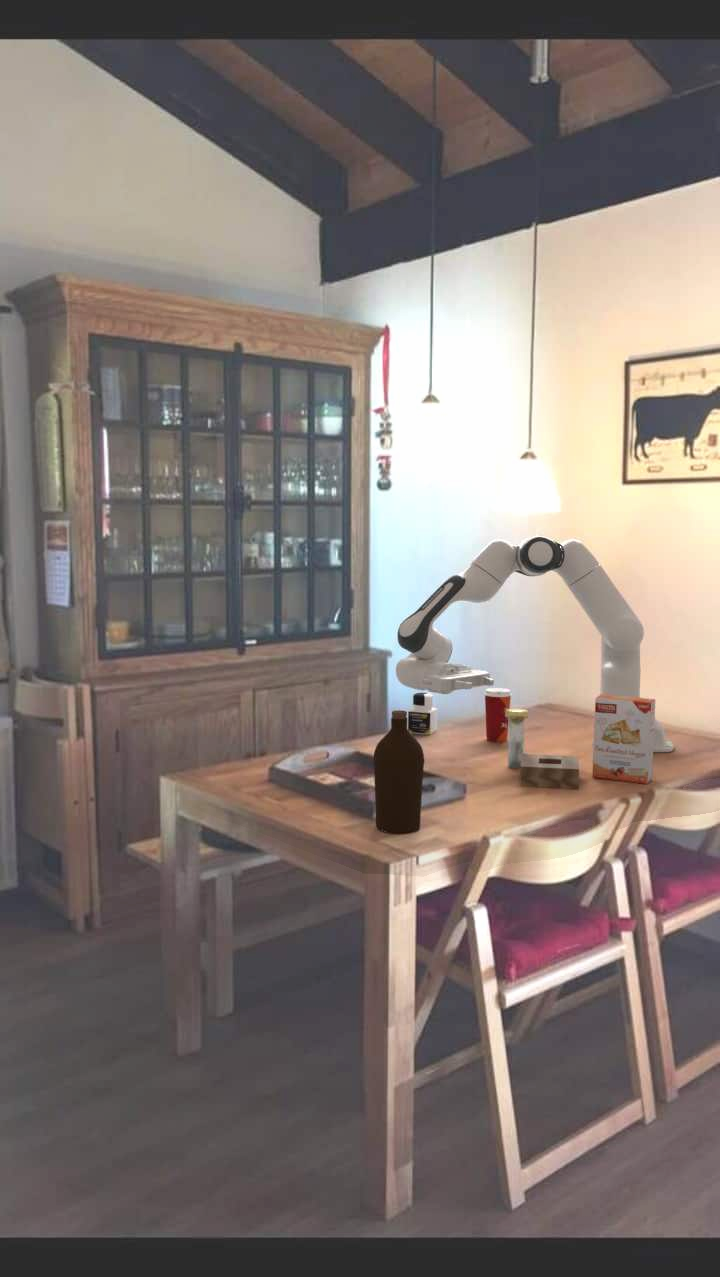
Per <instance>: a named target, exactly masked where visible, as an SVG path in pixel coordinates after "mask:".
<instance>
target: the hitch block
mask: <svg viewBox="0 0 720 1277" xmlns="http://www.w3.org/2000/svg"><path fill="white" fill-rule="evenodd" d="M519 777H520V778H519V779H520V780H519V781H520V783H519V784H520V785H519V786H520V787H523V788H525V787H526V788H529V787H530V788H544V789H545V788H546V789H561V790H563V789H564V790H565V789H566V790H579V785H580V784H579V782H580V763H579V756H577V755H575V756H574V755H557V754H555V755H554V754H540V753H539V754H535V753H534V754H533V753H524V754H523V756H522V762H521V768H520V776H519Z"/></svg>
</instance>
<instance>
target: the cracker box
mask: <svg viewBox="0 0 720 1277" xmlns="http://www.w3.org/2000/svg"><path fill="white" fill-rule="evenodd" d="M594 705H595V706H594V707H595V708H594V724H593V726H594V729H593V731H594V732H593V741H594V744H593V751H592V754H593V755H592V775H591V776H592V778H594V779H595V778H597V779H605V780H614V781H620V782H627V783H637V784H642V785H643V784H644V785H648V784H649V782H651V780H652V778H653V762H654V752H653V745H654V722H655V719H656V718H655V717H656V699H655V698H643V697H640V698H635V697H624V696H614V695H602V694H601V695H600V694H599V695H598V696H596V697H595V703H594Z"/></svg>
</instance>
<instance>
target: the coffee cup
mask: <svg viewBox="0 0 720 1277" xmlns="http://www.w3.org/2000/svg"><path fill="white" fill-rule="evenodd" d="M512 694H513V693H511V689H510V688H509V689H508V688H503V687H488V688H486V689H485V692H484V693H483V695H484V705H485V706H484V708H485V730H486V731H485V733H486V735H485V736H486V741H489V742H494V743H495V742H496V743H502V742H507V740H508V736H509V718H507V717H505V713H506V710H508V709H511V698H512V696H513V695H512Z"/></svg>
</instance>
